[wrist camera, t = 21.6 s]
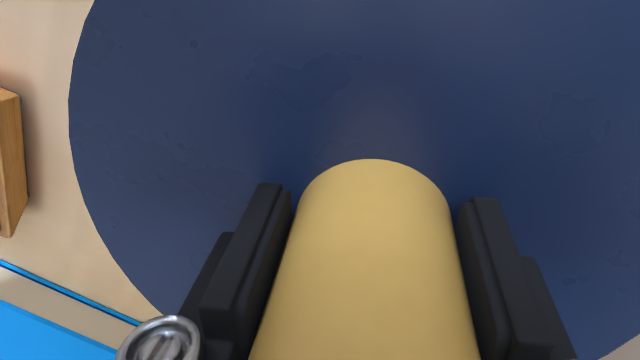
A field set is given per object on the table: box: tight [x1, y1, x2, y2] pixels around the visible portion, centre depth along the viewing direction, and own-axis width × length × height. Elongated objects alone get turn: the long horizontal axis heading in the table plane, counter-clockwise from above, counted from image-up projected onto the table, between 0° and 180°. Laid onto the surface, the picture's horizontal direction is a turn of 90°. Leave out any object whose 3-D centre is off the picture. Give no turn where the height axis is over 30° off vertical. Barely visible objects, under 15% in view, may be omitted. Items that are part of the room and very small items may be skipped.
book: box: [0, 260, 142, 360], centre depth 44 cm, size 17×4×25 cm
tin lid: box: [68, 0, 640, 360], centre depth 9 cm, size 16×16×7 cm
